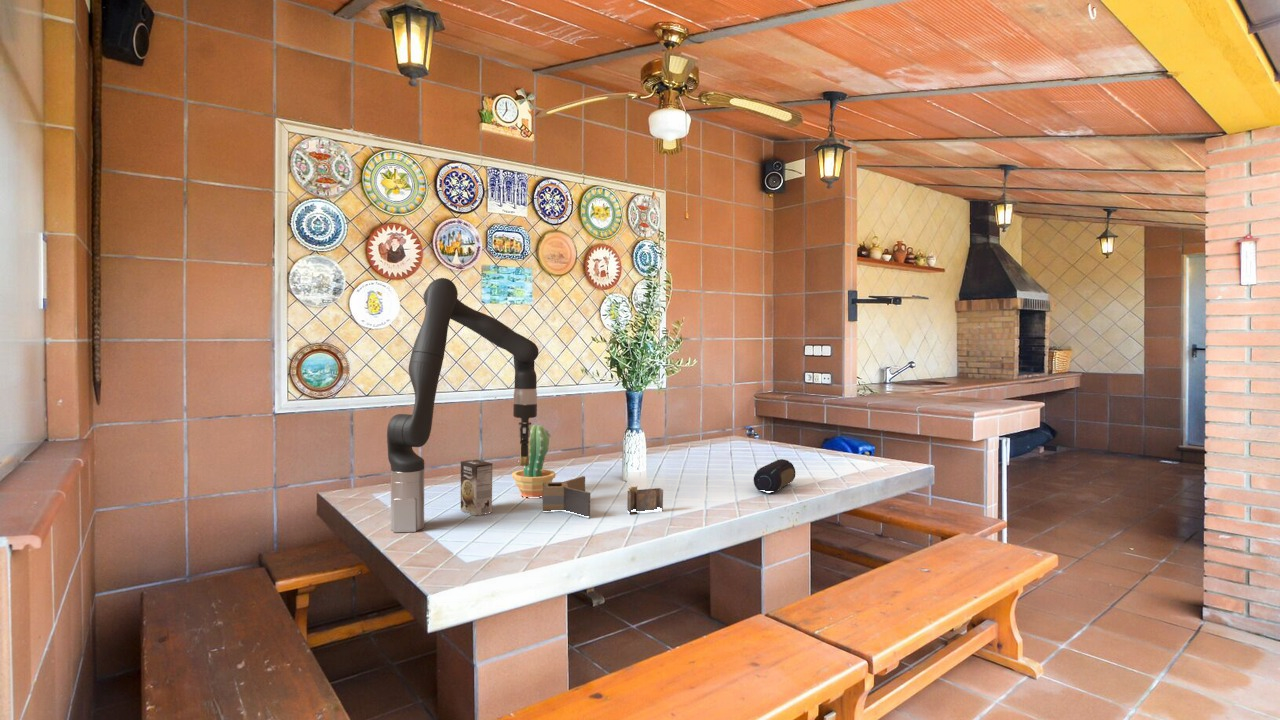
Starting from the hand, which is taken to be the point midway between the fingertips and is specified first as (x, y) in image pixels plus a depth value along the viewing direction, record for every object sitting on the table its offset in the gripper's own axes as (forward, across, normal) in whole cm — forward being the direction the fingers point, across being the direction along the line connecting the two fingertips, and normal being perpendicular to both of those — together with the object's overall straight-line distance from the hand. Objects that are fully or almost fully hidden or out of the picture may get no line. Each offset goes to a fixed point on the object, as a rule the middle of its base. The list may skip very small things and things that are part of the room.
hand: (524, 455), depth 213 cm
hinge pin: (+3, 0, 0) cm, 3 cm away
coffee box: (+18, +1, -15) cm, 24 cm away
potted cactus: (+18, -20, +3) cm, 27 cm away
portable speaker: (+17, -23, +93) cm, 97 cm away
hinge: (+18, -1, +13) cm, 22 cm away
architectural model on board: (+18, +6, +39) cm, 43 cm away
